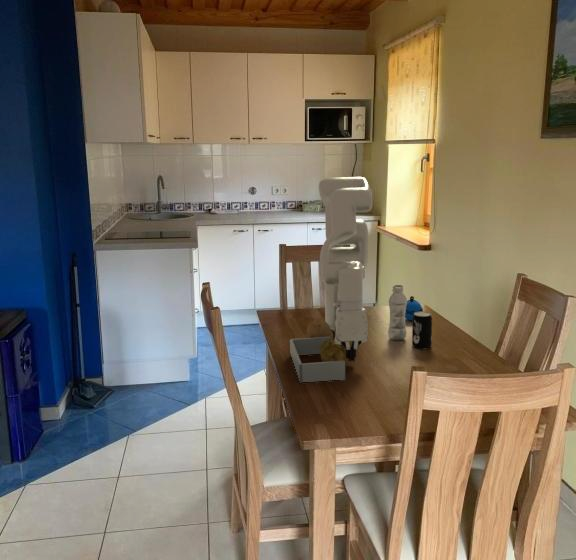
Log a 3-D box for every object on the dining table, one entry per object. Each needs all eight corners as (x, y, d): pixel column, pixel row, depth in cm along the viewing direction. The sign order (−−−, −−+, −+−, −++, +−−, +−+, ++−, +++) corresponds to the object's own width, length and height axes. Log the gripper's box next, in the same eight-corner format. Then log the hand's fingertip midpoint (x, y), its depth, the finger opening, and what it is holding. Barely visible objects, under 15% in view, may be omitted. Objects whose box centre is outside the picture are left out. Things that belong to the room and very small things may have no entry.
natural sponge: (302, 343, 202) (302, 317, 200) (325, 340, 205) (325, 314, 203) (312, 351, 194) (311, 324, 192) (335, 348, 197) (335, 320, 195)
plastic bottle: (384, 338, 205) (384, 285, 201) (399, 335, 208) (400, 283, 204) (394, 343, 200) (394, 289, 195) (410, 340, 202) (411, 286, 198)
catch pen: (290, 355, 191) (289, 339, 189) (330, 353, 192) (329, 336, 191) (299, 383, 167) (299, 364, 166) (345, 380, 169) (345, 361, 168)
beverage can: (431, 350, 192) (432, 316, 189) (412, 349, 193) (412, 316, 191) (431, 343, 198) (431, 311, 196) (412, 343, 200) (412, 310, 197)
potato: (317, 374, 174) (316, 349, 173) (321, 359, 187) (320, 336, 185) (344, 374, 173) (344, 350, 171) (346, 359, 185) (346, 336, 184)
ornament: (410, 324, 221) (411, 300, 219) (396, 319, 228) (396, 295, 226) (427, 320, 225) (427, 296, 223) (412, 316, 232) (413, 292, 230)
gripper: (329, 309, 172) (330, 365, 176) (376, 306, 174) (376, 362, 178) (324, 303, 179) (326, 357, 183) (370, 300, 181) (370, 354, 185)
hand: (351, 359), depth 180 cm, fingers closed
